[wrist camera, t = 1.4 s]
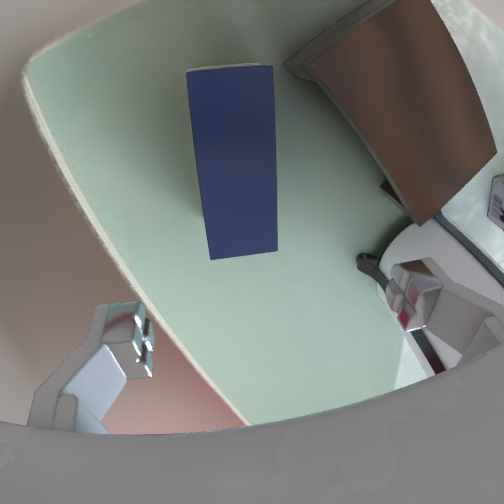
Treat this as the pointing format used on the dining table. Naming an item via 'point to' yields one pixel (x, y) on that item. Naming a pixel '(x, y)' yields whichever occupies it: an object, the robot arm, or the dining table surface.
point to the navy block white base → (235, 156)
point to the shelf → (403, 99)
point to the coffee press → (452, 263)
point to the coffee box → (497, 202)
